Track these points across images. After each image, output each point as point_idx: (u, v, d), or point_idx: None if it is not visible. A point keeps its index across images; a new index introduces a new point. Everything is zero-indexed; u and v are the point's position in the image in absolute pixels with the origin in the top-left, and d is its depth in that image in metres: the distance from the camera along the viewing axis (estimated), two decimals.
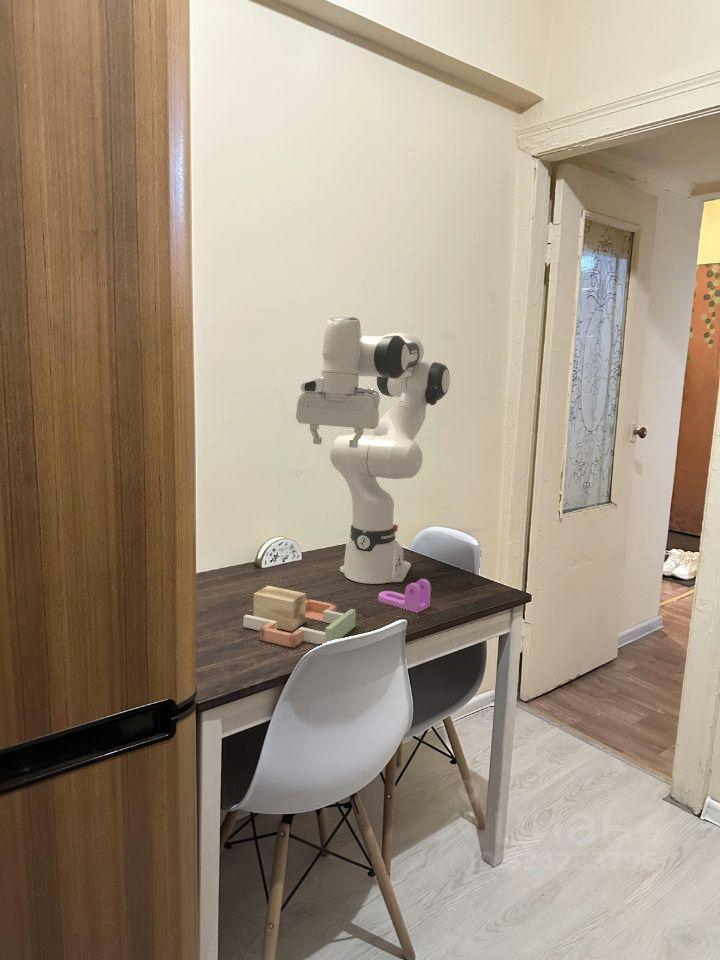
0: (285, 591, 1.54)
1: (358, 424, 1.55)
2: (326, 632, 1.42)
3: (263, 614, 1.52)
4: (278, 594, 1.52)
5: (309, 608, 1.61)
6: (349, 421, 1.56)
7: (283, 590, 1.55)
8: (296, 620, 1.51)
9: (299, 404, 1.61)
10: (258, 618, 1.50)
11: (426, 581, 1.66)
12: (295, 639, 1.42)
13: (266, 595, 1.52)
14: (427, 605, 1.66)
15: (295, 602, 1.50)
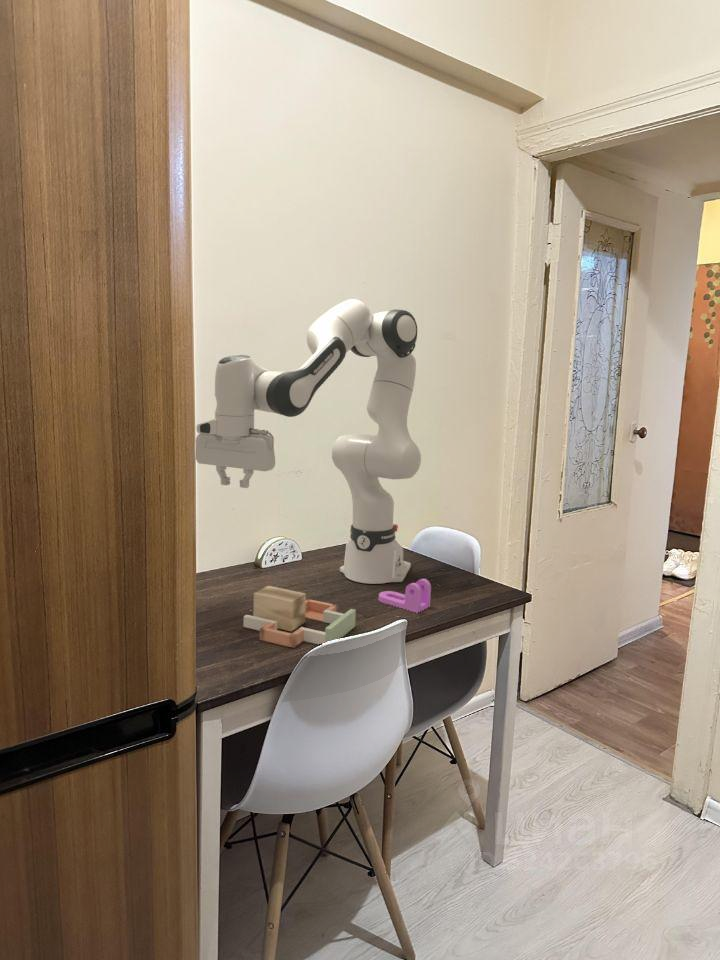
0: (286, 591, 1.54)
1: (253, 466, 1.53)
2: (326, 632, 1.42)
3: (263, 614, 1.52)
4: (278, 594, 1.52)
5: (309, 608, 1.61)
6: (245, 463, 1.54)
7: (283, 590, 1.55)
8: (296, 620, 1.51)
9: (197, 445, 1.59)
10: (258, 618, 1.50)
11: (426, 581, 1.66)
12: (295, 639, 1.42)
13: (266, 595, 1.52)
14: (427, 605, 1.66)
15: (295, 602, 1.50)
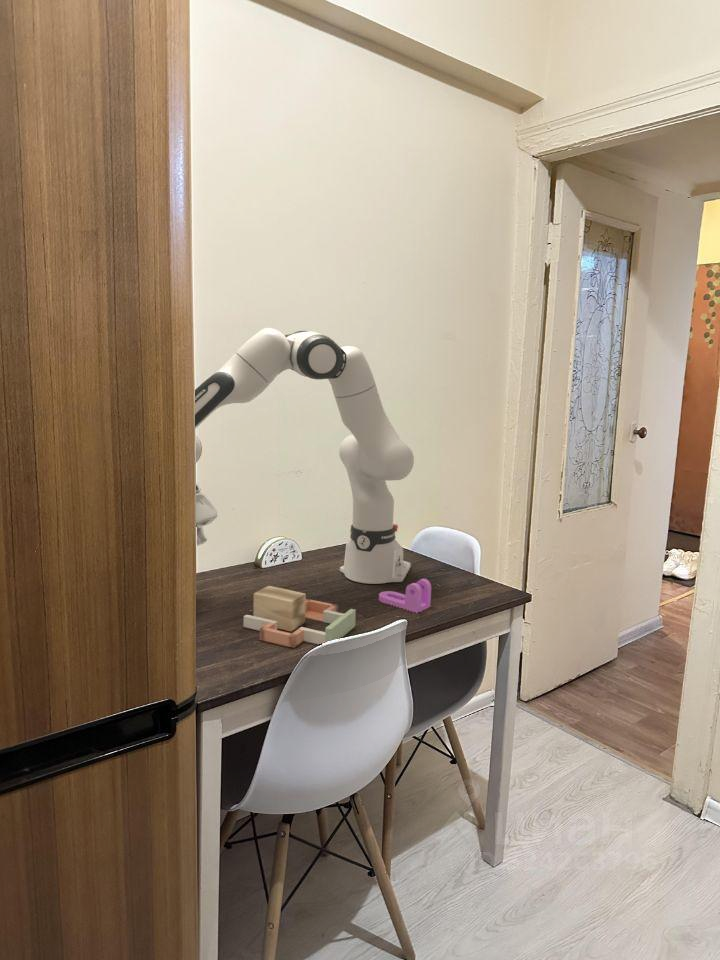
0: (286, 591, 1.54)
1: None
2: (326, 632, 1.42)
3: (263, 614, 1.52)
4: (278, 594, 1.52)
5: (309, 608, 1.61)
6: None
7: (283, 590, 1.55)
8: (296, 620, 1.51)
9: None
10: (258, 618, 1.50)
11: (426, 581, 1.66)
12: (295, 639, 1.42)
13: (266, 595, 1.52)
14: (427, 605, 1.66)
15: (295, 602, 1.50)
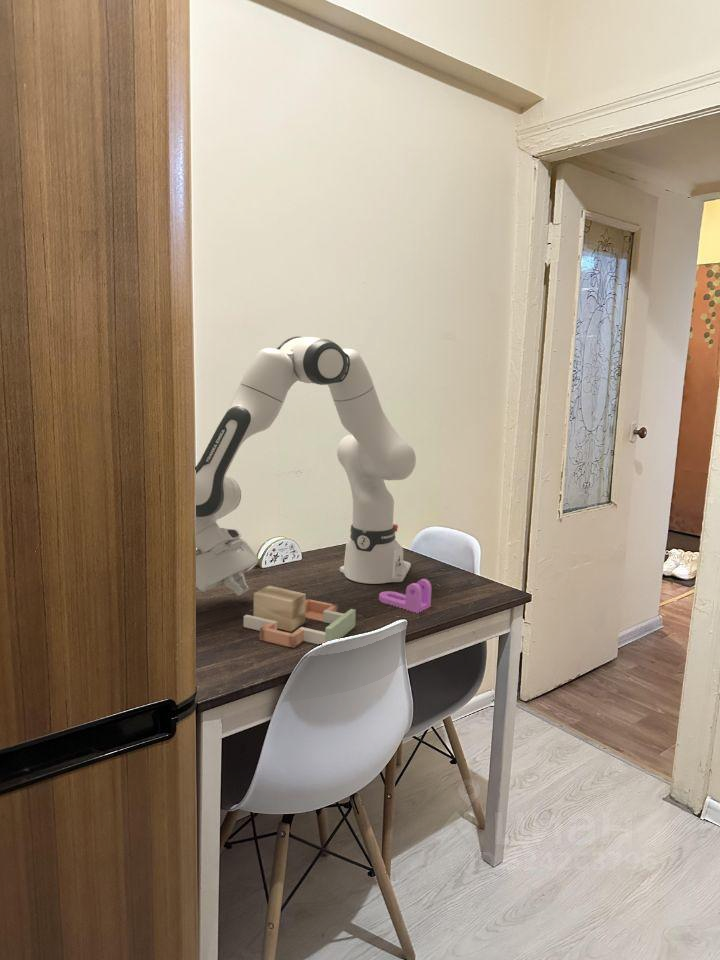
0: (286, 591, 1.54)
1: None
2: (326, 632, 1.42)
3: (263, 614, 1.52)
4: (278, 594, 1.52)
5: (309, 608, 1.61)
6: None
7: (283, 590, 1.55)
8: (296, 620, 1.51)
9: None
10: (258, 618, 1.50)
11: (427, 581, 1.65)
12: (295, 639, 1.42)
13: (266, 595, 1.52)
14: (428, 605, 1.66)
15: (294, 602, 1.50)
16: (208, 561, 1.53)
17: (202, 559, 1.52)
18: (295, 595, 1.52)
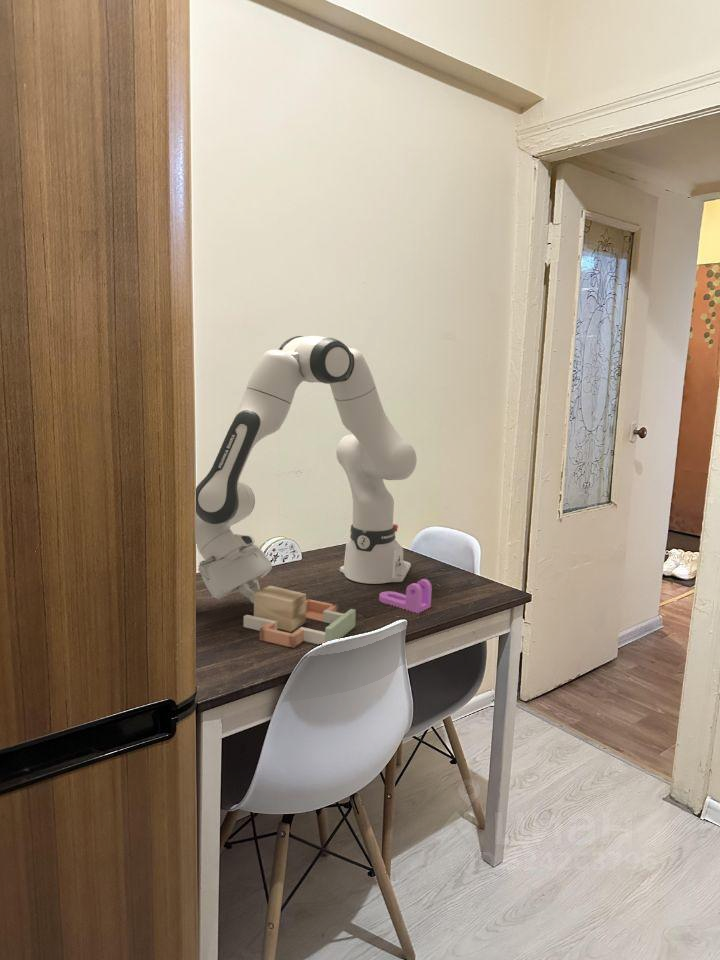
0: (286, 591, 1.54)
1: None
2: (326, 632, 1.42)
3: (263, 614, 1.52)
4: (279, 594, 1.52)
5: (309, 608, 1.61)
6: None
7: (284, 590, 1.55)
8: (296, 620, 1.51)
9: None
10: (258, 618, 1.50)
11: (427, 581, 1.65)
12: (295, 639, 1.42)
13: (266, 595, 1.52)
14: (428, 605, 1.66)
15: (295, 602, 1.50)
16: (223, 568, 1.52)
17: (217, 567, 1.51)
18: (295, 595, 1.52)
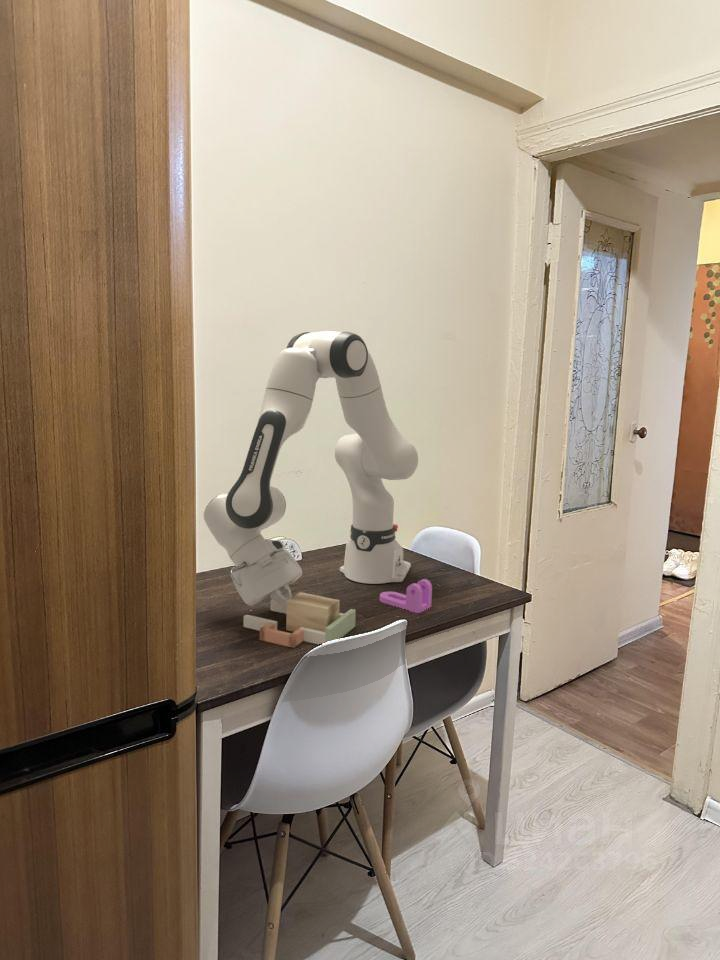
0: (319, 598, 1.51)
1: None
2: (326, 632, 1.42)
3: (297, 622, 1.49)
4: (312, 601, 1.49)
5: None
6: None
7: (316, 597, 1.52)
8: None
9: None
10: (258, 618, 1.50)
11: (427, 581, 1.65)
12: (295, 639, 1.42)
13: (300, 602, 1.48)
14: (428, 605, 1.66)
15: (330, 609, 1.46)
16: (255, 574, 1.48)
17: (249, 573, 1.47)
18: (329, 602, 1.49)
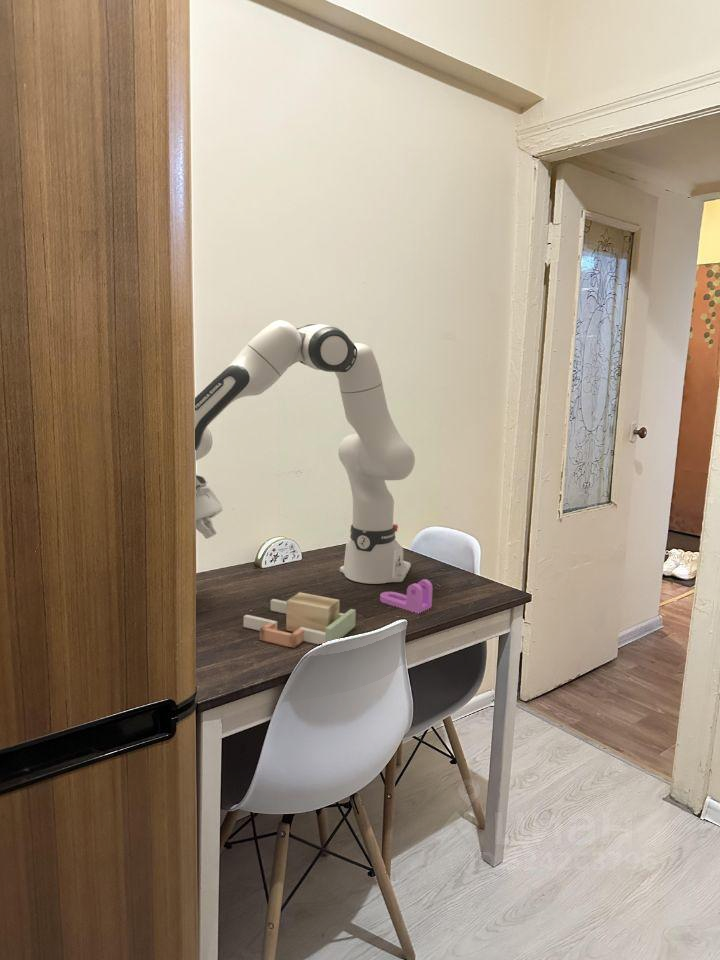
0: (319, 598, 1.51)
1: None
2: (326, 632, 1.42)
3: (297, 622, 1.49)
4: (312, 601, 1.49)
5: None
6: None
7: (316, 597, 1.52)
8: None
9: None
10: (258, 618, 1.50)
11: (428, 582, 1.65)
12: (295, 639, 1.42)
13: (300, 602, 1.48)
14: (429, 606, 1.65)
15: (330, 609, 1.47)
16: None
17: None
18: (329, 601, 1.49)
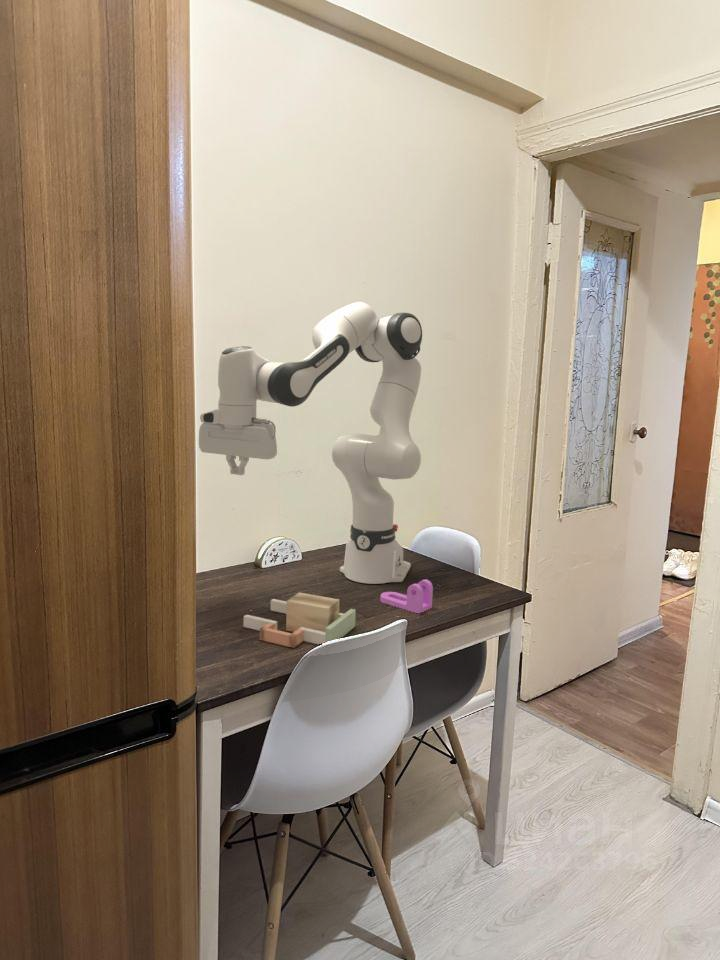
0: (318, 598, 1.51)
1: (256, 455, 1.57)
2: (326, 632, 1.42)
3: (297, 622, 1.49)
4: (312, 601, 1.49)
5: None
6: (247, 452, 1.58)
7: (315, 597, 1.52)
8: None
9: (200, 434, 1.63)
10: (258, 618, 1.50)
11: (428, 582, 1.65)
12: (295, 639, 1.42)
13: (300, 602, 1.48)
14: (429, 606, 1.65)
15: (331, 608, 1.47)
16: None
17: None
18: (329, 601, 1.49)
